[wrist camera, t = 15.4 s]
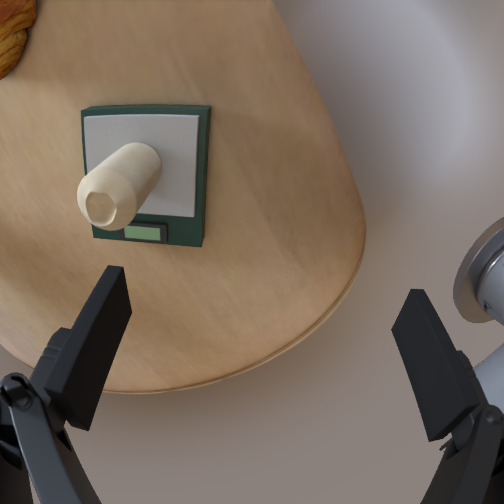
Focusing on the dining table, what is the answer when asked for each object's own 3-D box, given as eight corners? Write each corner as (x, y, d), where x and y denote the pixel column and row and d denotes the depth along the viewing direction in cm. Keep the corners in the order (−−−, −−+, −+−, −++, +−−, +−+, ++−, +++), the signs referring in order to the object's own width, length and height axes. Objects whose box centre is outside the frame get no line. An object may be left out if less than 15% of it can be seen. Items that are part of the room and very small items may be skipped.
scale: (211, 105, 30) (207, 110, 28) (204, 236, 39) (200, 251, 36) (90, 106, 29) (77, 111, 27) (100, 228, 38) (91, 241, 36)
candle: (108, 147, 29) (60, 184, 21) (156, 136, 29) (119, 169, 21) (121, 194, 32) (82, 243, 24) (167, 186, 32) (139, 235, 24)
